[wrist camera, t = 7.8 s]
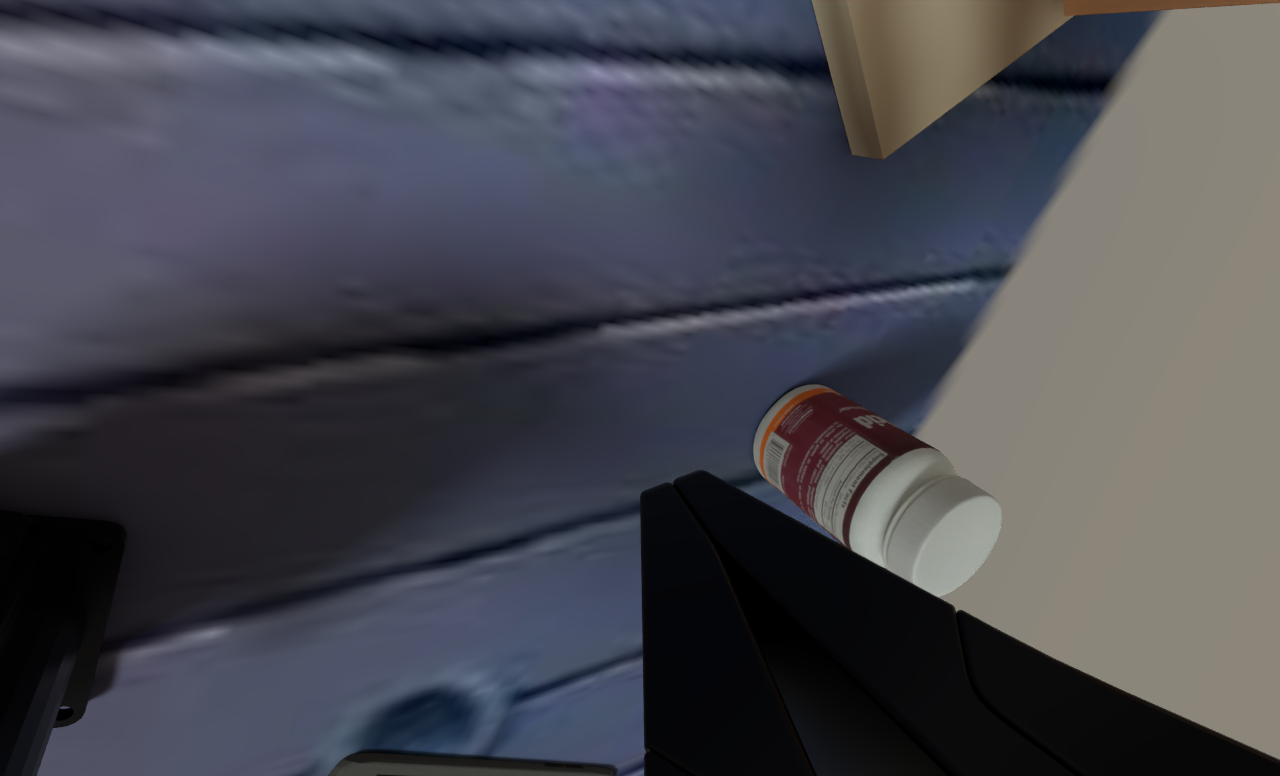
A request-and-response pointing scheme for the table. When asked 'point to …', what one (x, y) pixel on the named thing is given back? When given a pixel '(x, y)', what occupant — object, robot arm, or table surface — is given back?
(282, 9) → the table surface
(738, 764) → the robot arm
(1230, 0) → the wooden board
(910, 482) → the pill bottle
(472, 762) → the cell phone
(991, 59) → the pipe board
